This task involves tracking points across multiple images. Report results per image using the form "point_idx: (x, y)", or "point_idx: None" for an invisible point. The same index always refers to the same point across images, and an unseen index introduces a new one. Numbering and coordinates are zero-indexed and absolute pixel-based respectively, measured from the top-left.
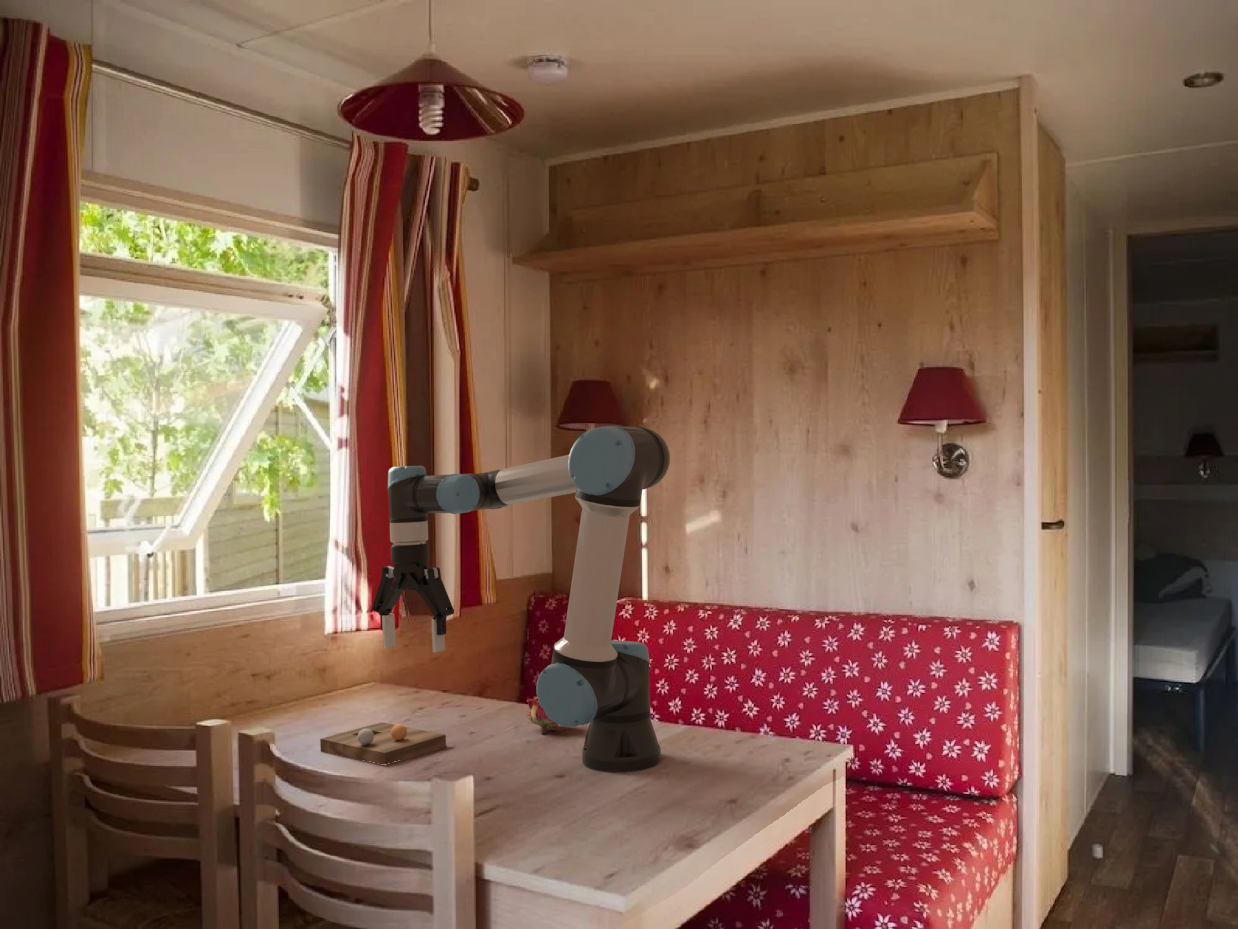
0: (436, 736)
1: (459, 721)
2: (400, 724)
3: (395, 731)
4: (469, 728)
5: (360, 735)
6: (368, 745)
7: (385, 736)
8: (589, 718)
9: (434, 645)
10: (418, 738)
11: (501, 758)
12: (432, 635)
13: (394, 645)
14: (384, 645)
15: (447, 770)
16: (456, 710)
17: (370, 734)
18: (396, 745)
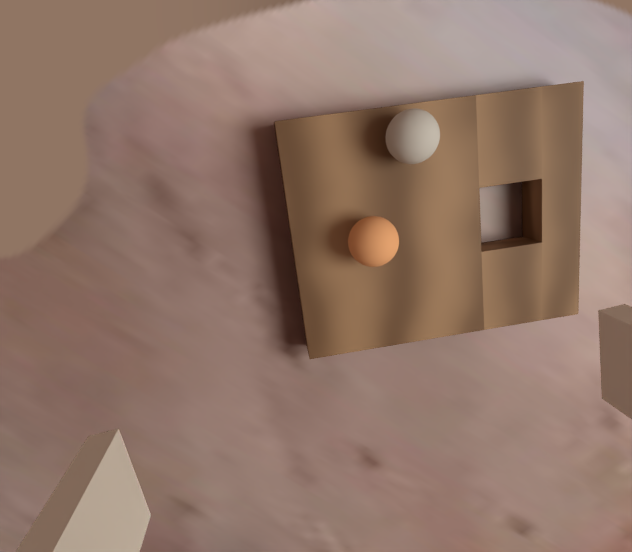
0: (313, 331)
1: (485, 495)
2: (375, 250)
3: (364, 222)
4: (409, 477)
5: (411, 111)
6: None
7: (437, 233)
8: None
9: (73, 470)
10: (337, 285)
11: (96, 380)
12: (53, 535)
13: (605, 392)
14: (627, 314)
15: (98, 219)
16: (574, 541)
17: (391, 139)
18: (321, 196)
